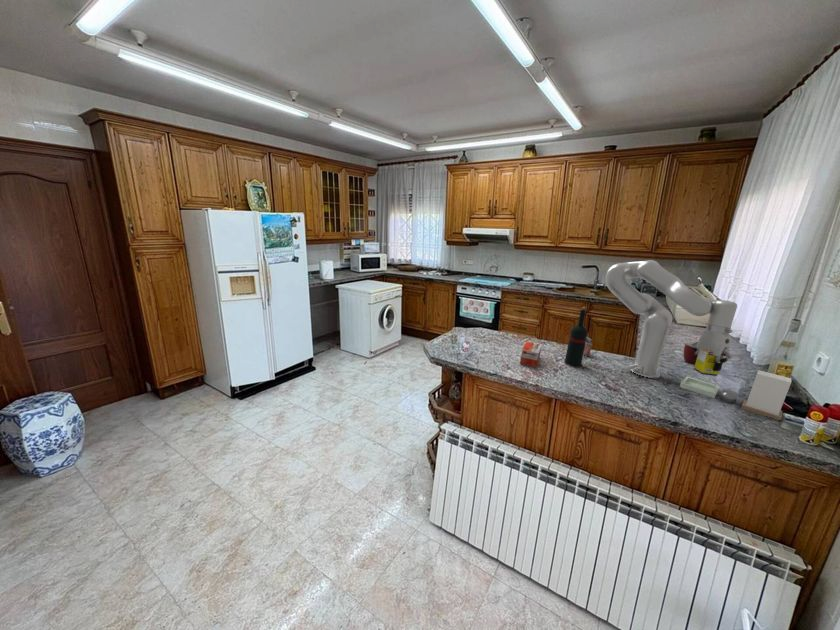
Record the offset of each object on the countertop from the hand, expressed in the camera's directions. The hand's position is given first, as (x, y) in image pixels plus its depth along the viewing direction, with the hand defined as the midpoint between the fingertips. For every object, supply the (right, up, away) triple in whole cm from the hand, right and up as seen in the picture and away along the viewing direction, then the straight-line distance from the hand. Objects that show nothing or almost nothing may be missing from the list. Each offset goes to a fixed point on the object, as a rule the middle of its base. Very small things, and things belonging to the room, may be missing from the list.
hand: (706, 366), depth 143 cm
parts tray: (-1, -11, +3) cm, 11 cm away
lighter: (-35, +1, +38) cm, 52 cm away
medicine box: (-70, -1, +24) cm, 74 cm away
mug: (+22, -4, +34) cm, 40 cm away
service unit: (+9, -16, -14) cm, 23 cm away
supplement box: (0, -3, +1) cm, 3 cm away
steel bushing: (+3, -14, -7) cm, 15 cm away
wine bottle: (-48, -2, +25) cm, 54 cm away
